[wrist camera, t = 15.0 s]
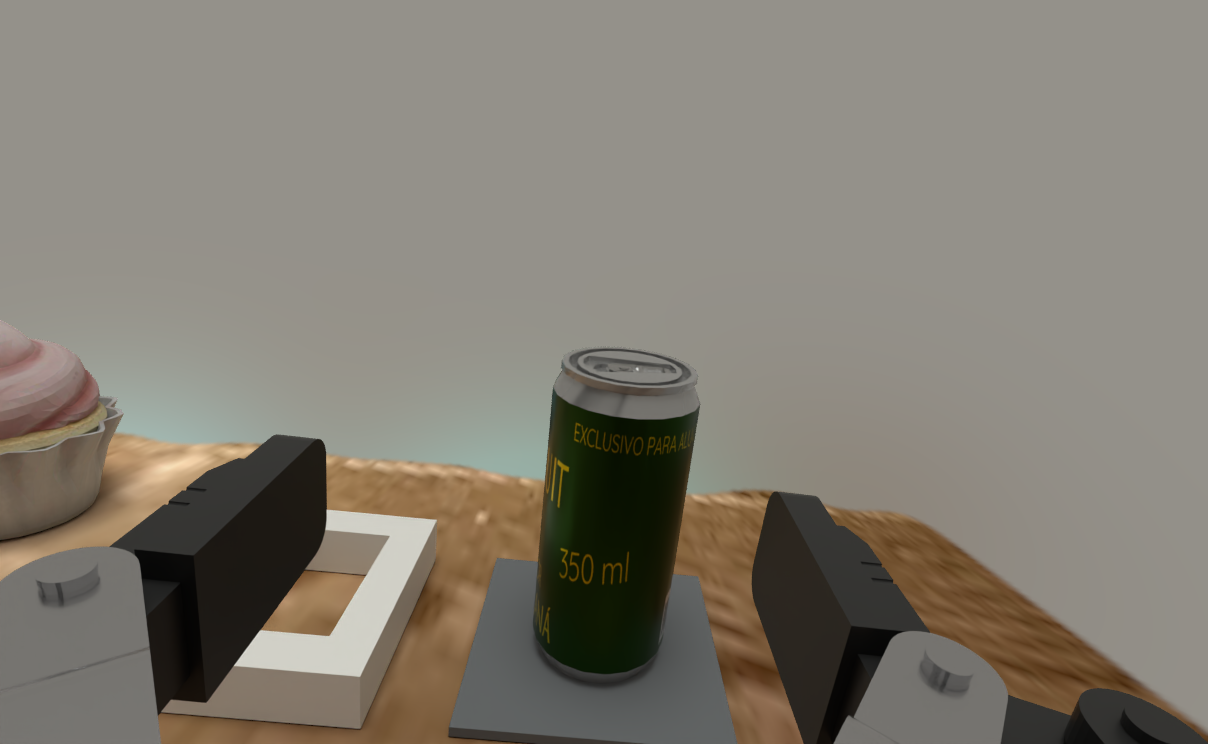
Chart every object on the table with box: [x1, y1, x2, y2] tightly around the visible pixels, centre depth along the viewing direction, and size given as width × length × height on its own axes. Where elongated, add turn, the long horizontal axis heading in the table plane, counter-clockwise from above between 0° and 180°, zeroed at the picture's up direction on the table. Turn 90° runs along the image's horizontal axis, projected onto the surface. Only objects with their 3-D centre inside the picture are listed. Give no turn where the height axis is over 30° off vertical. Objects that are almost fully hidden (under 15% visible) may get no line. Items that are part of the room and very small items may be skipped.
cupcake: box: [0, 320, 123, 540], centre depth 30 cm, size 9×9×10 cm
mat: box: [449, 558, 737, 744], centre depth 26 cm, size 10×10×1 cm
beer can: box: [533, 347, 700, 684], centre depth 24 cm, size 5×5×12 cm
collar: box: [161, 510, 437, 729], centre depth 26 cm, size 10×10×2 cm
